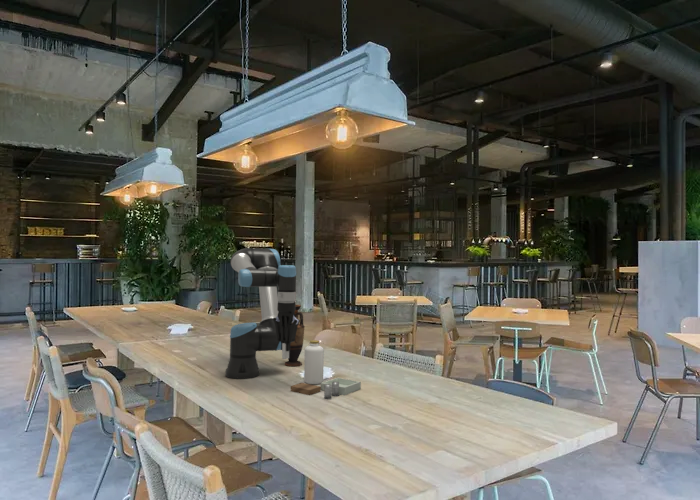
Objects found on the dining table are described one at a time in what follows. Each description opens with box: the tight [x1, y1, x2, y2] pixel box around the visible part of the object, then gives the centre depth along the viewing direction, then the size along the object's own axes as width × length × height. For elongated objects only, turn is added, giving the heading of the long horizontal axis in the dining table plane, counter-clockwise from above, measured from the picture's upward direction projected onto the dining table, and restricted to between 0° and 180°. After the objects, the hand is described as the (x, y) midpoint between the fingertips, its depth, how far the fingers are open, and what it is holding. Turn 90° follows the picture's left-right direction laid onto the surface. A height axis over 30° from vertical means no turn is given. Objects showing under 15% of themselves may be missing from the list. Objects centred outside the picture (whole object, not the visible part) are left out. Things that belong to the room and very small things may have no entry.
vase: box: [284, 304, 306, 367], centre depth 252 cm, size 11×11×30 cm
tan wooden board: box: [290, 382, 321, 396], centre depth 203 cm, size 10×7×2 cm
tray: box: [320, 377, 362, 396], centre depth 206 cm, size 12×12×3 cm
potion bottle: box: [303, 339, 325, 385], centre depth 217 cm, size 8×8×18 cm
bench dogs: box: [323, 382, 340, 400], centre depth 196 cm, size 3×8×5 cm, turn 147°
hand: (285, 358), depth 209 cm, fingers closed
